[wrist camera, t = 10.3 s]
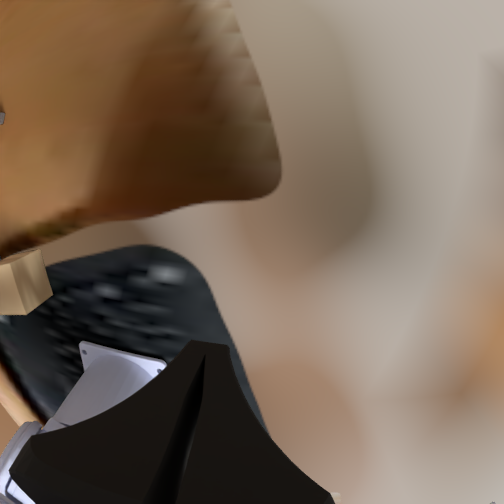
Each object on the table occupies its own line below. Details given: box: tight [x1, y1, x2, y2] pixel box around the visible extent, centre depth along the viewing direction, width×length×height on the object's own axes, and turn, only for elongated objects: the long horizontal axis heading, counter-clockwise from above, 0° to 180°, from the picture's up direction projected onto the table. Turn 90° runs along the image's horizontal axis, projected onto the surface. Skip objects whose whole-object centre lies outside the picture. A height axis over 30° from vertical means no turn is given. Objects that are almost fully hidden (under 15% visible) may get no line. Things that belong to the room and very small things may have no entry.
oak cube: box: [0, 249, 53, 315], centre depth 17 cm, size 4×4×4 cm
